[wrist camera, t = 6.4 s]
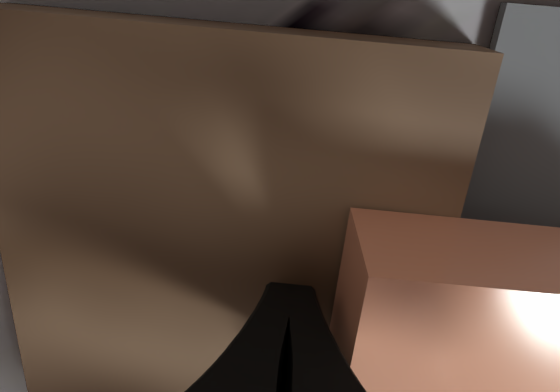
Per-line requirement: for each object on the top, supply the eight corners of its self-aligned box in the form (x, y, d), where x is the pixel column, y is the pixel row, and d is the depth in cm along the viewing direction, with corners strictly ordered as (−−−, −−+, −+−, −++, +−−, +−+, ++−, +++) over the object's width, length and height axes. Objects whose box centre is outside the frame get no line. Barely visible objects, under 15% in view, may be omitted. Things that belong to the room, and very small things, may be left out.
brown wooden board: (380, 433, 17) (388, 486, 15) (66, 398, 18) (38, 445, 16) (473, 43, 12) (504, 53, 10) (7, 3, 12) (-49, 4, 10)
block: (583, 412, 14) (655, 515, 11) (319, 388, 14) (325, 487, 11) (670, 238, 11) (790, 315, 9) (350, 207, 11) (368, 276, 9)
